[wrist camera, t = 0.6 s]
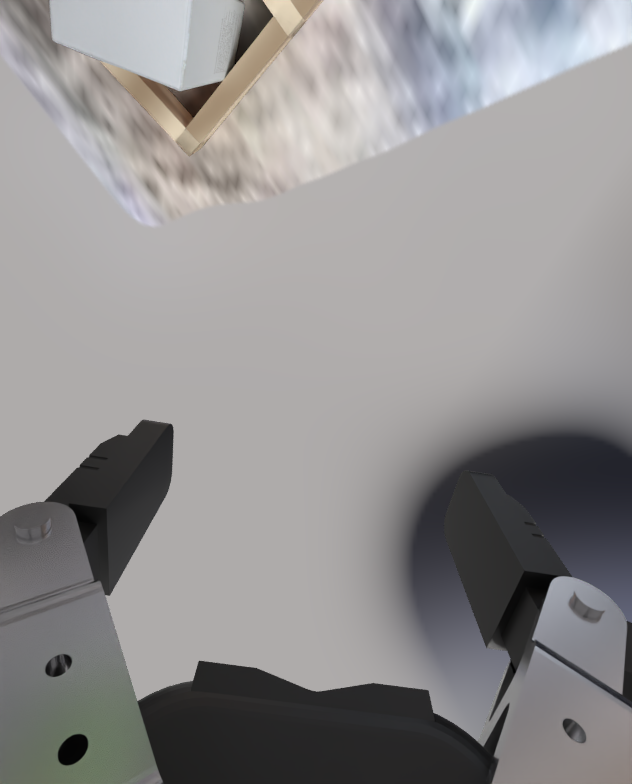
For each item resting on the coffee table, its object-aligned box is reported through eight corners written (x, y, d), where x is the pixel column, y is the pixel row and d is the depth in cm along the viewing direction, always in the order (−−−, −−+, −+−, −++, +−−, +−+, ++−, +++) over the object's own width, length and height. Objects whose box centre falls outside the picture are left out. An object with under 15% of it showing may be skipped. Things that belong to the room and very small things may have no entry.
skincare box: (146, 45, 28) (45, 40, 19) (151, -41, 25) (37, -98, 16) (235, 82, 29) (181, 95, 20) (248, 3, 26) (195, -27, 17)
